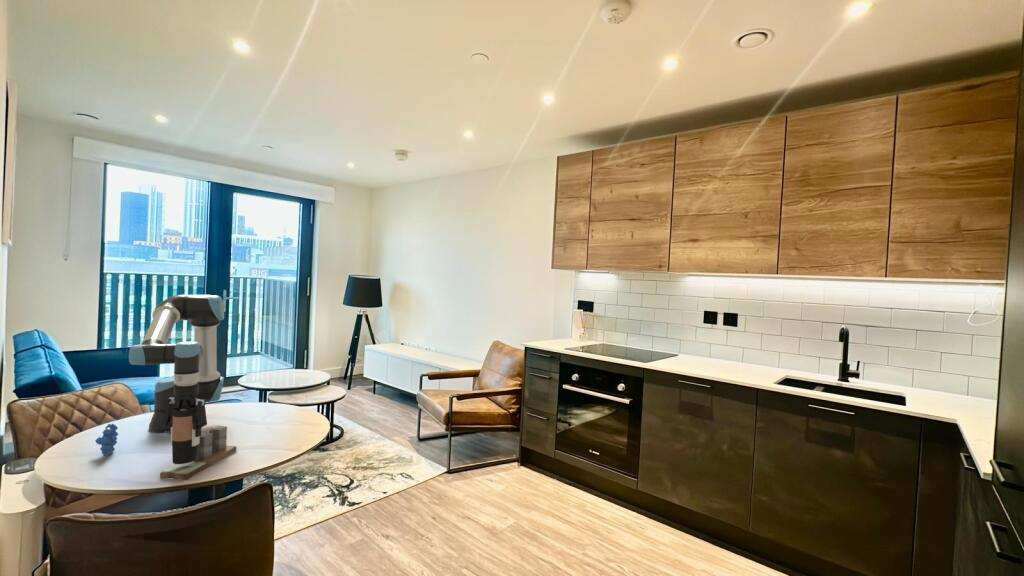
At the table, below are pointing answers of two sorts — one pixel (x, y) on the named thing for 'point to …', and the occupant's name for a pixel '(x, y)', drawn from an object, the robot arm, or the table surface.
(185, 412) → the travel mug
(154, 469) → the table surface
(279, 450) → the table surface
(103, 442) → the grapes
